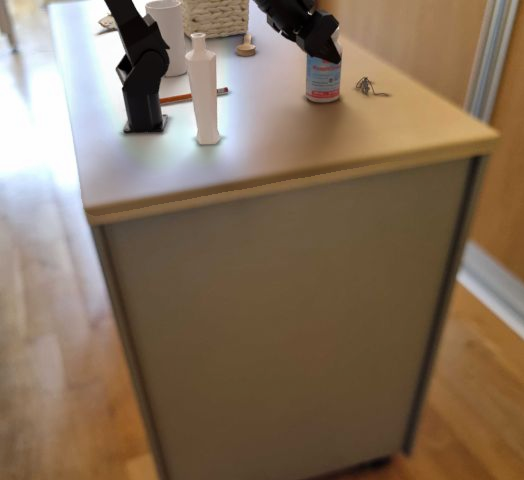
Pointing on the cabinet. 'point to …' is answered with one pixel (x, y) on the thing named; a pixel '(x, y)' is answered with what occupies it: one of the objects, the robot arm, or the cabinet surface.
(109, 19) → the butterfly
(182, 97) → the pencil
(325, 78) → the pill bottle
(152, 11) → the mug
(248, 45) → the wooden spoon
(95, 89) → the cabinet surface
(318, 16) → the robot arm
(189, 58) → the perfume bottle
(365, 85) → the pendant
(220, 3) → the basket
